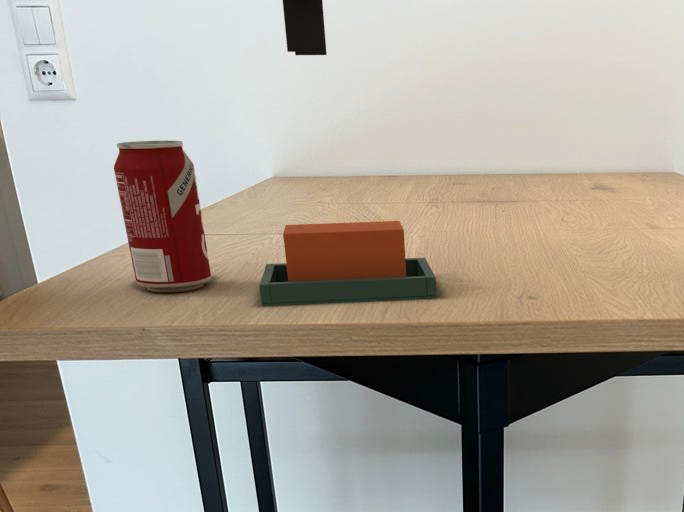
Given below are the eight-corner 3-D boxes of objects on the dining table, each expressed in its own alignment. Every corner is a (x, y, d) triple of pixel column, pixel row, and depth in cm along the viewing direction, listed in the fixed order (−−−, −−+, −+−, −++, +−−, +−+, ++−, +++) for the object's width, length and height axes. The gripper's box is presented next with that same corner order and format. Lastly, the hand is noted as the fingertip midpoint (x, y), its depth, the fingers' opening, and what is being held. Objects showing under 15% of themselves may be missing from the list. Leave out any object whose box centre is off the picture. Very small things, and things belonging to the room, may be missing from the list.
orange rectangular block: (402, 280, 85) (399, 220, 83) (407, 291, 81) (403, 229, 78) (292, 284, 84) (285, 224, 82) (290, 296, 80) (282, 233, 77)
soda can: (167, 297, 83) (140, 146, 77) (122, 289, 87) (93, 143, 81) (227, 285, 88) (206, 141, 82) (182, 278, 91) (158, 139, 85)
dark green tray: (262, 311, 78) (259, 284, 77) (269, 288, 86) (266, 263, 85) (436, 303, 79) (435, 277, 78) (426, 281, 88) (425, 257, 87)
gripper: (239, -253, 75) (271, 56, 86) (199, -382, 54) (248, 50, 65) (333, -251, 76) (353, 56, 87) (329, -377, 55) (356, 49, 66)
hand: (308, 54), depth 76 cm, fingers open, 13 cm apart
